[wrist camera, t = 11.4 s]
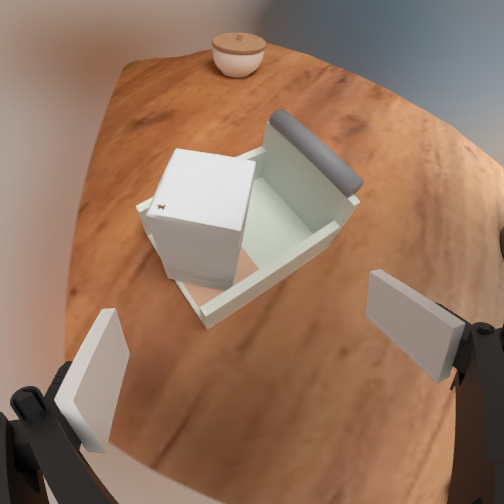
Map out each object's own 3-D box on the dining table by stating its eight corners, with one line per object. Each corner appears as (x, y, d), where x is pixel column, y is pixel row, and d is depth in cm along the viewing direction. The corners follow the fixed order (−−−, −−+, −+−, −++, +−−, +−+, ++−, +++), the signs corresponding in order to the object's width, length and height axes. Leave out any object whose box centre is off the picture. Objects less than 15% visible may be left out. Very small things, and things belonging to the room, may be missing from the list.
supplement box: (232, 293, 32) (241, 234, 20) (166, 279, 32) (141, 214, 20) (244, 235, 35) (258, 159, 24) (184, 222, 35) (173, 145, 24)
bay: (265, 171, 41) (281, 102, 30) (332, 244, 37) (374, 184, 26) (145, 233, 35) (121, 165, 24) (207, 329, 30) (202, 293, 20)
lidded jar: (201, 75, 52) (202, 36, 44) (225, 57, 57) (228, 23, 49) (249, 88, 51) (254, 47, 43) (268, 68, 56) (275, 33, 48)
